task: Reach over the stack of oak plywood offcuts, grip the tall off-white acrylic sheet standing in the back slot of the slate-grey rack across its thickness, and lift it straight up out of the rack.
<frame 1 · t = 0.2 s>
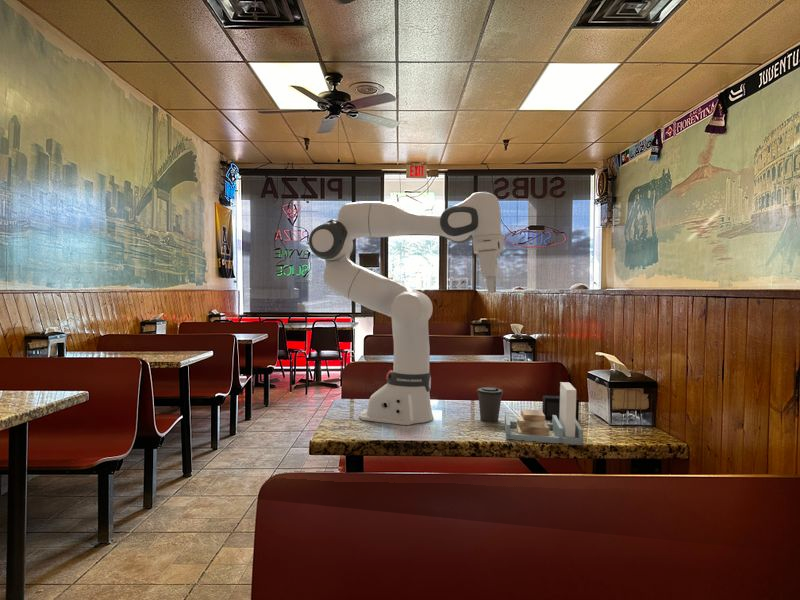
hand: (492, 292, 152), 39 cm above the table, tool pointing down, fingers open, 8 cm apart
offcut stack: (532, 434, 142), resting in slotted rack
coffee cup: (489, 420, 157), on the table
digital camera: (560, 420, 160), on the table
acrylic sheet: (566, 436, 140), resting in slotted rack
slotted rack: (547, 435, 141), on the table
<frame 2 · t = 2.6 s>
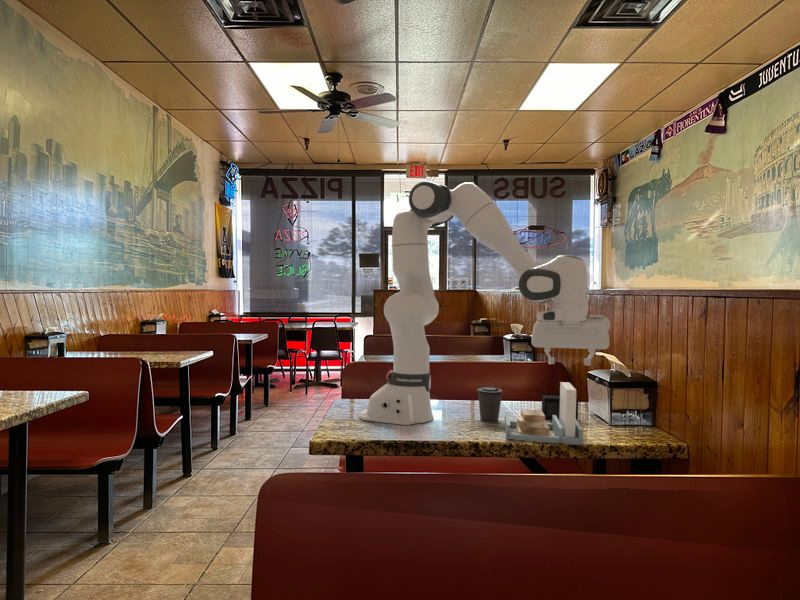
hand: (569, 364, 140), 20 cm above the table, tool pointing down, fingers open, 8 cm apart
nothing on the table moved.
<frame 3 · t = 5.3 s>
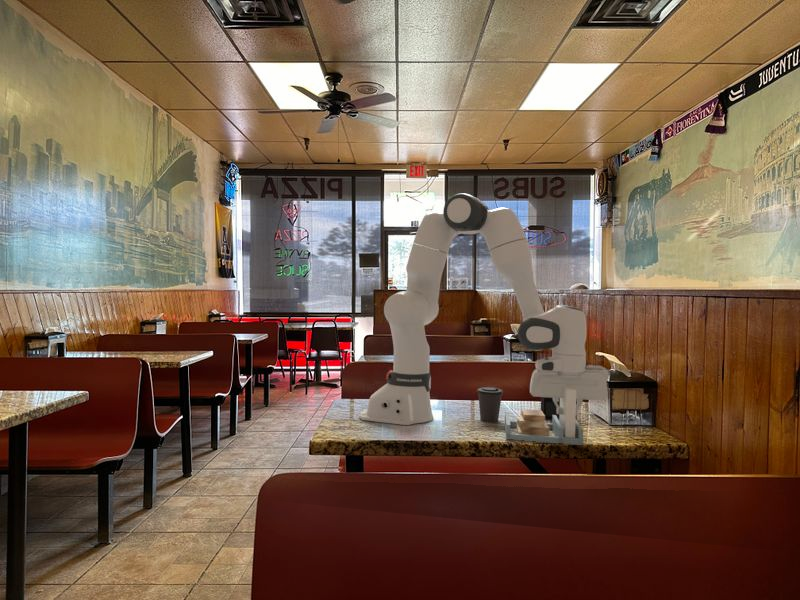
hand: (567, 414, 140), 6 cm above the table, tool pointing down, fingers closed on acrylic sheet, 3 cm apart
acrylic sheet: (566, 436, 140), resting in slotted rack, touching gripper
everything else where it was.
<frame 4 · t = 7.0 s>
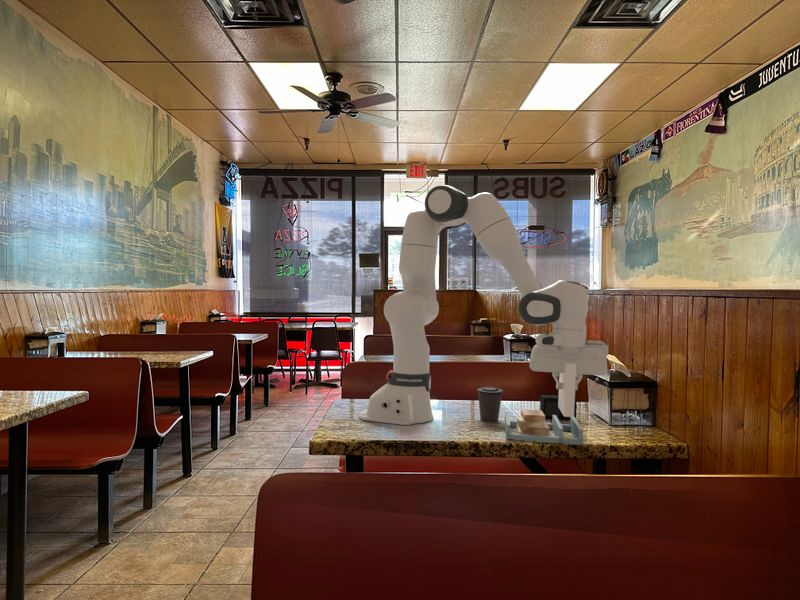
hand: (566, 389, 140), 13 cm above the table, tool pointing down, fingers closed on acrylic sheet, 2 cm apart
acrylic sheet: (565, 411, 140), point 7 cm above the table, touching gripper
everything else where it was.
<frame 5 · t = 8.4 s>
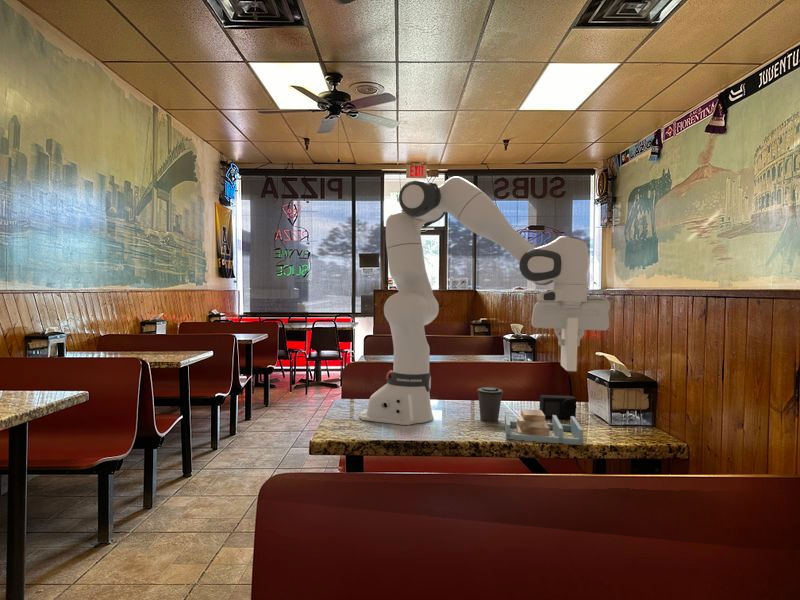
hand: (568, 345, 140), 25 cm above the table, tool pointing down, fingers closed on acrylic sheet, 2 cm apart
acrylic sheet: (568, 368, 140), point 19 cm above the table, touching gripper
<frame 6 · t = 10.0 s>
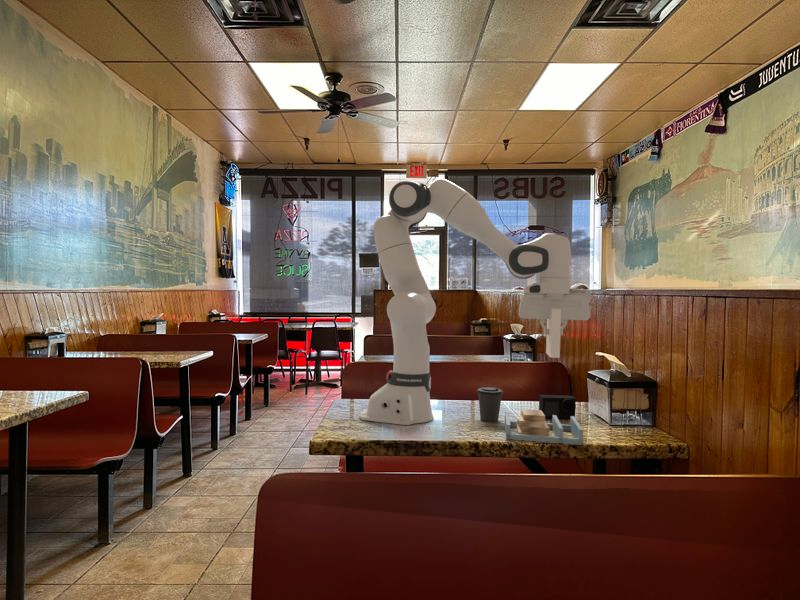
hand: (553, 334, 151), 27 cm above the table, tool pointing down, fingers closed on acrylic sheet, 2 cm apart
acrylic sheet: (552, 355, 151), point 21 cm above the table, touching gripper
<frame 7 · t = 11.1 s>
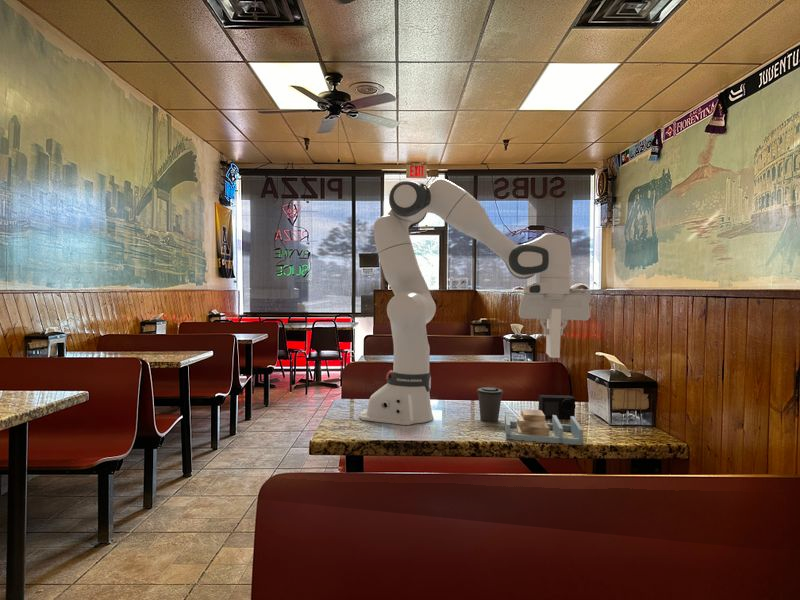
hand: (553, 334, 151), 27 cm above the table, tool pointing down, fingers closed on acrylic sheet, 2 cm apart
acrylic sheet: (552, 355, 151), point 21 cm above the table, touching gripper
at the end: the gripper is holding acrylic sheet; acrylic sheet point 20.9 cm above the table; acrylic sheet tilted 0° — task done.
